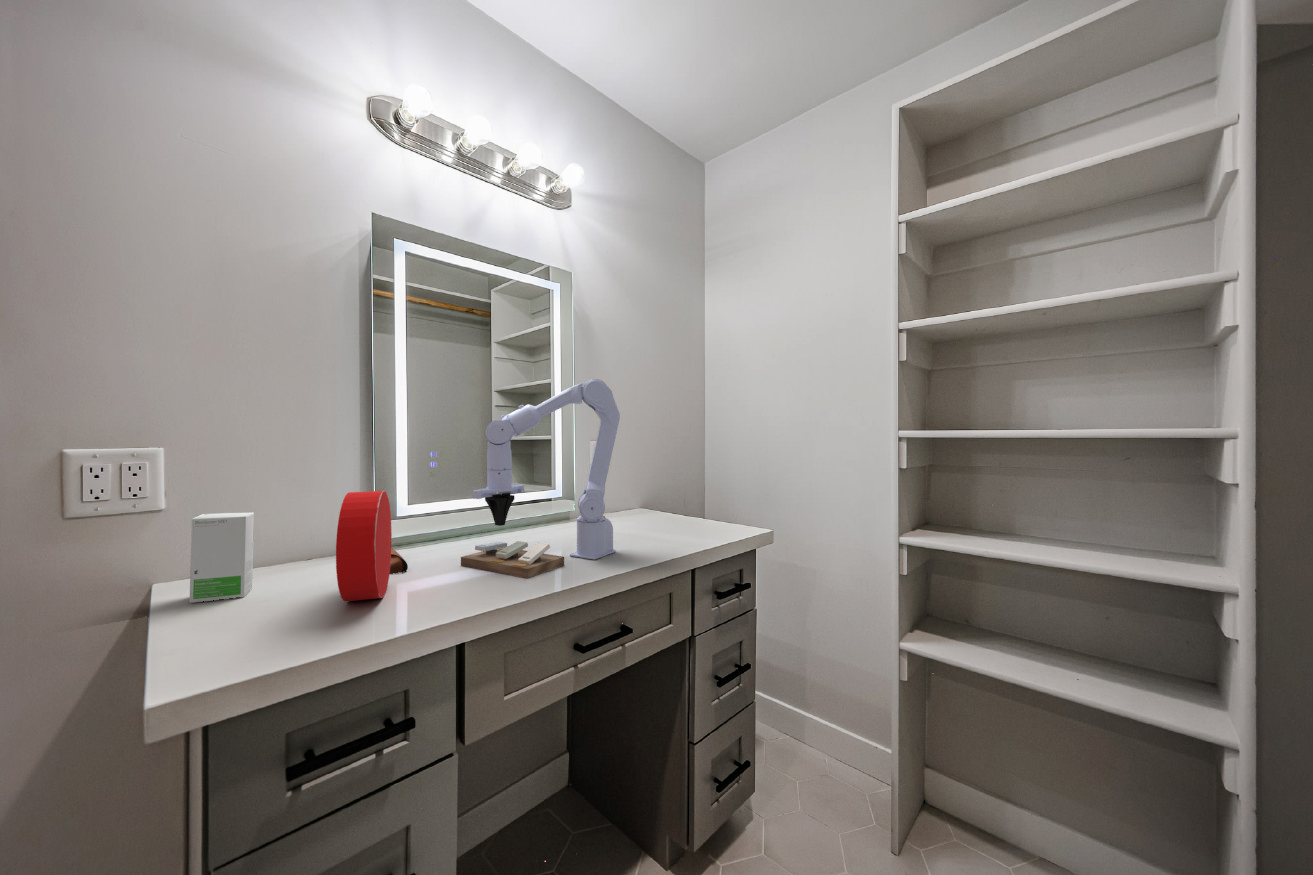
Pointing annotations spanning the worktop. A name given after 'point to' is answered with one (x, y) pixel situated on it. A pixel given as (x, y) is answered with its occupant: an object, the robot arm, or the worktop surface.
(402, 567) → the sunglasses case
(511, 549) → the sage rocker
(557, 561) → the switch panel
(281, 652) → the worktop surface
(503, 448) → the robot arm
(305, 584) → the worktop surface
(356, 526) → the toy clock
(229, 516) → the skincare box
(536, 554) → the cream rocker
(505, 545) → the bluegrey rocker
